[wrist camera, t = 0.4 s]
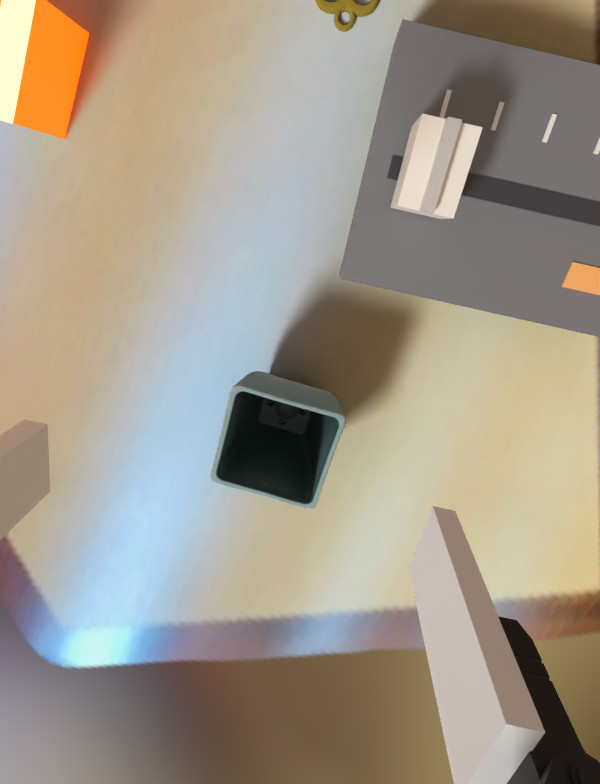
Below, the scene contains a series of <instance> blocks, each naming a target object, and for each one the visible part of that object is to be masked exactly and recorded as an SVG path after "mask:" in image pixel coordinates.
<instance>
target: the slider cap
mask: <svg viewBox="0 0 600 784" xmlns="http://www.w3.org/2000/svg"><path fill="white" fill-rule="evenodd" d="M482 128H483V127H479V126H475V125H470V124H466V123H462V119H457V118H453V117H447V118H446V119H444V118H440V117H435V116H431V115H427V114H422V115H421V116H420V117H419V118H418V119H417V121H416V122H415V123H414V124H413V126H412V127H411V131H410V135H409V139H408V143H407V146H406V150H405V154H404V158H403V161H402V165H401V169H400V173H399V176H398V180H397V184H396V188H395V191H394V195H393V199H392V203H391V206H390V208H394V209H399V210H403V211H407V212H412V213H416V214H421V215H425V216H429V217H434V218H438V219H452V218H454V216H455V212H456V209H457V206H458V203H459V200H460V197H461V194H462V191H463V188H464V184H465V181H466V178H467V175H468V172H469V169H470V166H471V163H472V159H473V156H474V153H475V150H476V147H477V144H478V141H479V138H480V135H481V131H482Z"/></svg>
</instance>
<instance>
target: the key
mask: <svg viewBox="0 0 600 784" xmlns="http://www.w3.org/2000/svg"><path fill="white" fill-rule="evenodd" d="M378 2H379V0H371V2H370V3H369V4H367V5H360V4H358V3H356V2H355V1H354V0H336V1H333V2H329V1H326V0H316V3H317V5H318V7H319V8H320V9H321V10H323V11H324V12H326V13H331V14H335V17H334V22H335V25H336V27H337V28H338V29H339V30H340V31H348V30H350V29H351V28H352V27H353V25H354V23H355V16H362V17H363V16H367V15H369V14H371V13H372V12H373V11H374V10H375V9H376V7H377V5H378ZM343 12H348V13H349V14H350V21H349V23H348V24H346V25H343V24H342V23H340V21H339V17H340V14H341V13H343Z"/></svg>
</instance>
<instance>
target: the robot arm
mask: <svg viewBox="0 0 600 784" xmlns="http://www.w3.org/2000/svg"><path fill="white" fill-rule="evenodd" d="M49 492H50V478H49V453H48V427H47V424H44V423H39V422H34V421H30V420H23V421H22V422H20V423H19V424H17V425H16V426H14V427H13V428H11V429H9V430H8V431H6V432H5V433H3V434H2V435H0V540H1V539H2V538H3V537H4V536H5V535H6V534H7V533H8V532H9V531H10V530H11V529H12V528H13V527H14V526H15V525H16V524H17V523H18V522H19V521H20V520H21V519H22V518H23V517H24V516H25V515H26V514H27V513H28V512H29V511H30V510H31V509H32V508H34V507H35V506H36V505H37V504H38V503H39V502H40V501H41V500H42V499H43V498H44V497H45V496H46V495H47V494H48V493H49ZM409 572H410V576H411V581H412V586H413V591H414V596H415V600H416V605H417V610H418V615H419V619H420V624H421V629H422V634H423V638H424V643H425V648H426V653H427V657H428V662H429V667H430V671H431V677H432V681H433V685H434V691H435V695H436V700H437V704H438V710H439V714H440V720H441V724H442V729H443V734H444V738H445V743H446V748H447V753H448V758H449V762H450V767H451V772H452V777H453V781H454V784H600V763H599V762H598V761H597V760H596V759H594V758H593V757H591V756H590V755H588V754H587V753H585V751H584V749H583V747H582V746H581V743H580V741H579V739H578V737H577V735H576V733H575V730H574V728H573V726H572V724H571V722H570V720H569V718H568V715H567V713H566V711H565V709H564V707H563V705H562V703H561V701H560V698H559V696H558V694H557V692H556V690H555V688H554V685H553V683H552V681H550V680H549V675H548V672H547V671H546V668H545V666H544V664H542V663H541V657H540V655H539V653H538V651H537V649H536V647H535V645H534V642H533V640H532V639H531V637H530V636H529V635H528V634H527V633H526V631H525V630H524V629H523V628H522V626H521V625H520V624H519V623H518V622H517V620H513V619H508V618H503V617H498V615H497V612H496V610H495V607H494V605H493V603H492V600H491V598H490V595H489V593H488V590H487V588H486V585H485V583H484V580H483V578H482V576H481V573H480V571H479V568H478V566H477V563H476V561H475V558H474V556H473V553H472V551H471V549H470V546H469V544H468V541H467V539H466V536H465V534H464V531H463V529H462V526H461V524H460V522H459V519H458V517H457V514H456V512H455V511H453V510H448V509H443V508H439V507H434V506H433V507H432V510H431V512H430V515H429V517H428V520H427V522H426V525H425V527H424V530H423V532H422V535H421V537H420V540H419V542H418V545H417V547H416V550H415V552H414V555H413V557H412V560H411V563H410V565H409Z"/></svg>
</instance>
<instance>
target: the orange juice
mask: <svg viewBox="0 0 600 784" xmlns="http://www.w3.org/2000/svg"><path fill="white" fill-rule="evenodd" d="M88 37H89V33H88V32H87V31H85V30H84V29H83V28H82V27H80V26H79V25H78V24H76V23H75V22H74V21H73V20H71V19H70V18H69V17H67V16H66V15H65V14H64V13H62V12H61V11H60V10H58V9H57V8H56V7H55V6H53V5H52V4H51V3H49V2H48V1H47V0H0V120H2V121H5V122H8V123H11V124H13V123H14V124H17V125H20V126H23V127H27V128H30V129H33V130H36V131H39V132H43V133H46V134H49V135H52V136H56V137H59V138H62V139H65V137H66V133H67V128H68V124H69V120H70V115H71V111H72V107H73V102H74V98H75V94H76V89H77V85H78V81H79V76H80V72H81V68H82V63H83V59H84V55H85V50H86V46H87V42H88Z"/></svg>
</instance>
